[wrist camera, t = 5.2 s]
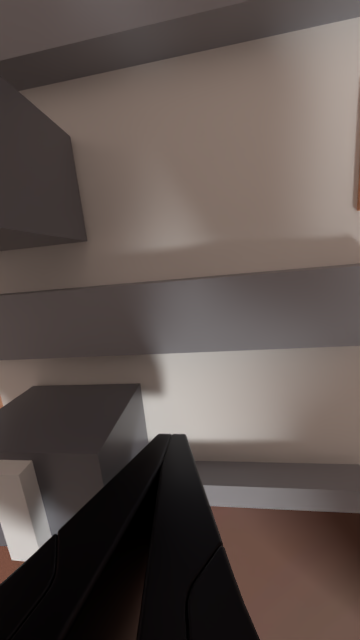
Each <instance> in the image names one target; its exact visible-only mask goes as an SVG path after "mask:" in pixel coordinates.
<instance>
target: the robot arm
mask: <svg viewBox="0 0 360 640" xmlns="http://www.w3.org/2000/svg"><path fill="white" fill-rule="evenodd" d="M0 640H260V639H259V637H258V634H257V632H256V630H255V627H254V625H253V623H252V620H251V618H250V616H249V613H248V611H247V609H246V606H245V604H244V601H243V599H242V596H241V593H240V591H239V588H238V585H237V582H236V580H235V577H234V574H233V572H232V569H231V566H230V563H229V560H228V557H227V554H226V551H225V548H224V547H223V543H222V540H221V537H220V534H219V531H218V528H217V525H216V522H215V519H214V516H213V513H212V510H211V507H210V504H209V501H208V498H207V495H206V492H205V489H204V486H203V483H202V480H201V477H200V475H199V472H198V469H197V466H196V463H195V460H194V457H193V454H192V451H191V448H190V445H189V442H188V439H187V436H186V434H158V435H157V436H156V437H154V438H153V439H152V440H151V441H150V442H149V443H148V444H147V445H146V446H145V447H144V448H143V449H142V450H141V451H140V452H139V453H138V454H137V455H136V456H135V457H134V458H133V459H132V460H131V461H130V462H129V463H128V464H126V465H125V466H124V467H123V468H122V469H121V470H120V471H119V472H118V473H117V474H116V475H115V476H114V477H113V478H112V479H111V480H110V481H109V482H108V483H107V484H106V485H105V486H104V487H103V488H102V489H101V490H100V491H98V492H97V493H96V494H95V495H94V496H93V497H92V498H91V499H90V500H89V501H88V502H87V503H86V504H85V505H84V506H83V507H82V508H81V509H80V510H79V511H78V512H77V513H76V514H75V515H74V516H73V517H72V518H71V519H69V520H68V521H67V522H66V523H65V524H64V525H63V526H62V527H61V528H60V529H59V530H58V535H57V534H54V535H53V536H52V537H51V538H50V539H49V540H48V541H46V542H45V543H44V544H43V545H42V546H41V547H40V548H39V549H38V550H37V551H36V552H35V553H34V554H33V555H32V556H31V557H30V558H29V559H27V560H26V561H25V562H24V563H23V564H22V565H21V566H20V567H19V568H18V569H17V570H16V571H15V572H13V573H12V574H11V575H10V576H9V577H8V578H7V579H6V580H5V581H3V582H2V583H1V584H0Z"/></svg>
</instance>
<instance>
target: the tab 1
mask: <svg viewBox="0 0 360 640" xmlns="http://www.w3.org/2000/svg"><path fill="white" fill-rule="evenodd" d="M85 241H87V235H86V229H85V223H84V217H83V211H82V205H81V199H80V193H79V187H78V180H77V174H76V168H75V162H74V156H73V150H72V144H71V138H70V136H69V135H68V134H67V133H66V132H65V131H64V130H62V129H61V128H60V127H59V126H58V125H57V124H55V123H54V122H53V121H52V120H51V119H50V118H49V117H47V116H46V115H45V114H44V113H43V112H42V111H41V110H39V109H38V108H37V107H36V106H35V105H34V104H32V103H31V102H30V101H29V100H28V99H27V98H26V97H24V96H23V95H22V94H21V93H20V92H19V91H18V90H16V89H15V88H14V87H13V86H12V85H11V84H9V83H8V82H7V81H6V80H5V79H4V78H3V77H1V76H0V251H6V250H15V249H24V248H33V247H41V246H50V245H59V244H68V243H77V242H85Z"/></svg>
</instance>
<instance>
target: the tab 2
mask: <svg viewBox="0 0 360 640" xmlns="http://www.w3.org/2000/svg"><path fill="white" fill-rule="evenodd" d="M147 444H148V436H147V429H146V422H145V414H144V407H143V400H142V392H141V385H140V383H136V384H93V385H51V386H32V387H31V388H29V389H28V390H26V391H25V392H24V393H22V394H21V395H19V396H18V397H16V398H15V399H13V400H12V401H10V402H9V403H8V404H6V405H5V406H3V407H2V408H0V546H8V549H9V553H10V556H11V559H12V560H16V561H26V560H27V559H29V558H30V557H31V556H32V555H33V554H34V553H35V552H36V551H37V550H38V549H39V548H40V547H41V546H42V545H43V544H44V543H45V542H46V541H48V540H49V539H50V538H51V537H52V536H53V535H54V534H57V535H58V530H59V529H60V528H61V527H62V526H63V525H64V524H65V523H66V522H67V521H68V520H69V519H71V518H72V517H73V516H74V515H75V514H76V513H77V512H78V511H79V510H80V509H81V508H82V507H83V506H84V505H85V504H86V503H87V502H88V501H89V500H90V499H91V498H92V497H93V496H94V495H95V494H96V493H97V492H98V491H100V490H101V489H102V488H103V487H104V486H105V485H106V484H107V483H108V482H109V481H110V480H111V479H112V478H113V477H114V476H115V475H116V474H117V473H118V472H119V471H120V470H121V469H122V468H123V467H124V466H125V465H126V464H128V463H129V462H130V461H131V460H132V459H133V458H134V457H135V456H136V455H137V454H138V453H139V452H140V451H141V450H142V449H143V448H144V447H145V446H146V445H147Z"/></svg>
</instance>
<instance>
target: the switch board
mask: <svg viewBox="0 0 360 640" xmlns="http://www.w3.org/2000/svg"><path fill="white" fill-rule="evenodd" d="M0 76H1V77H3V78H4V79H5V80H6V81H7V82H8V83H9V84H11V85H12V86H13V87H14V88H15V89H16V90H18V91H19V92H20V93H21V94H22V95H23V96H24V97H26V98H27V99H28V100H29V101H30V102H31V103H32V104H34V105H35V106H36V107H37V108H38V109H39V110H41V111H42V112H43V113H44V114H45V115H46V116H47V117H49V118H50V119H51V120H52V121H53V122H54V123H55V124H57V125H58V126H59V127H60V128H61V129H62V130H64V131H65V132H66V133H67V134H68V135H69V136H70V138H71V144H72V150H73V156H74V162H75V168H76V174H77V180H78V187H79V193H80V199H81V205H82V211H83V217H84V223H85V229H86V235H87V241H85V242H77V243H68V244H59V245H50V246H41V247H33V248H24V249H15V250H6V251H0V408H2V407H3V406H5V405H6V404H8V403H9V402H10V401H12V400H13V399H15V398H16V397H18V396H19V395H21V394H22V393H24V392H25V391H26V390H28V389H29V388H31V387H32V386H51V385H93V384H136V383H140V385H141V392H142V400H143V407H144V414H145V422H146V429H147V436H148V443H149V442H150V441H151V440H152V439H153V438H154V437H156V436H157V435H158V434H186V436H187V439H188V442H189V445H190V448H191V451H192V454H193V457H194V460H195V463H196V466H197V469H198V472H199V475H200V477H201V480H202V483H203V486H204V489H205V492H206V495H207V498H208V501H209V504H210V506H222V507H242V508H262V509H282V510H303V511H323V512H343V513H360V0H0Z"/></svg>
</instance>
